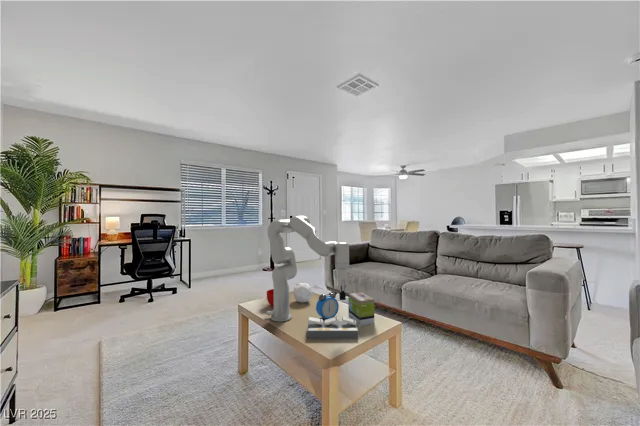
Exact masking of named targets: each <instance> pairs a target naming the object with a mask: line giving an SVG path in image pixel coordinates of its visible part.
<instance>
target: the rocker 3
mask: <svg viewBox="0 0 640 426" xmlns="http://www.w3.org/2000/svg"><path fill="white" fill-rule="evenodd" d="M341 321H343V322H346V323H349V324H353V325H356V326H357V323H356V320H354V319H351V318H350V317H347V316H344V315H343V316H341Z"/></svg>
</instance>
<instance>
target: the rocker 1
mask: <svg viewBox="0 0 640 426" xmlns="http://www.w3.org/2000/svg"><path fill="white" fill-rule="evenodd" d="M323 319H324V318H318V317H313V316H312V317H311V316H309V317H308V321H309V322H310V323H315V324H321V325H322V323H323V321H324V320H323Z"/></svg>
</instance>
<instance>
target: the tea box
mask: <svg viewBox="0 0 640 426" xmlns="http://www.w3.org/2000/svg"><path fill="white" fill-rule="evenodd" d="M347 295H348V297H347V301H348V313H347V314H348V318H350V319H354V320H356V325H358V326H359V327H363V326H369V324H370V325H375V298H373V297H371V296H369V295H368V294H365V293H364V292H356V293H355V292H353V293H348V294H347Z"/></svg>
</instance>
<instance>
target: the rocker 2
mask: <svg viewBox="0 0 640 426" xmlns="http://www.w3.org/2000/svg"><path fill="white" fill-rule="evenodd" d="M324 321H325V325H329V324H332V323H336V322H339V321H340V319H339V316H337V315H336V316H334V318H330V319H325V320H324Z"/></svg>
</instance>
